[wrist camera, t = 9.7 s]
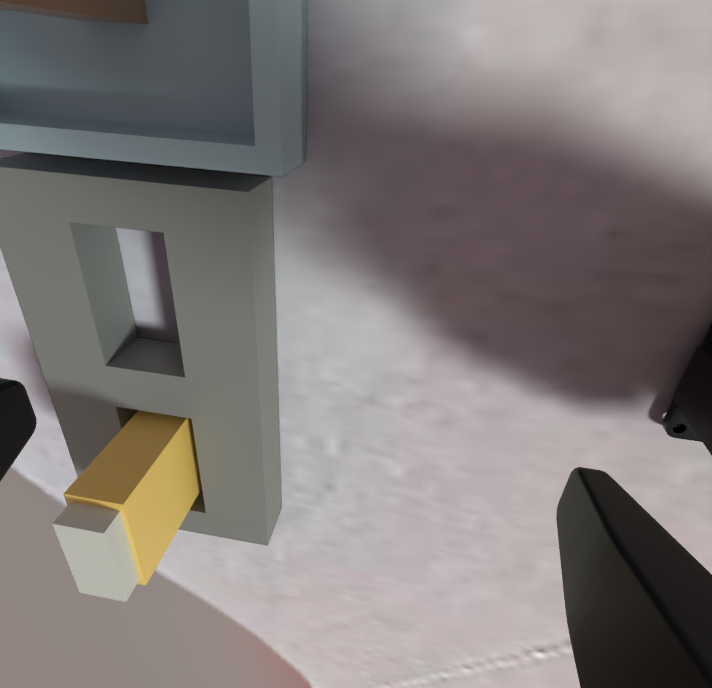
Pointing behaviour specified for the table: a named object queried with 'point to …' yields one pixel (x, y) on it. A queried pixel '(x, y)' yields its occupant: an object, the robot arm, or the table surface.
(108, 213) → the block
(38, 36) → the parts tray
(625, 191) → the table surface
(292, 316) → the table surface
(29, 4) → the block
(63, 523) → the block
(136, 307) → the table surface
